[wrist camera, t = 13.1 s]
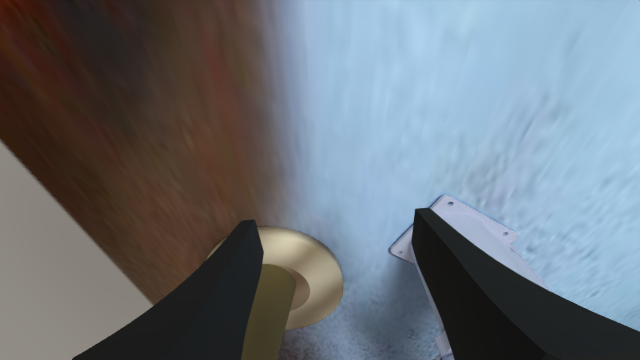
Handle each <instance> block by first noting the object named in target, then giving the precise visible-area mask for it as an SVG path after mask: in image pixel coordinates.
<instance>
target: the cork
mask: <svg viewBox="0 0 640 360" xmlns="http://www.w3.org/2000/svg"><path fill="white" fill-rule="evenodd" d="M295 289H296V282H295V279H294V277H293V276H292V274H291V273H289V272H288V271H287V270H285V269H283V268H281V267H279V266H276V265H271V264H262V270H261V275H260V279H259V283H258V287H257V290H256V294H255V298H254V301H253V305H252V309H251V312H250V316H249V320H248V324H247V328H246V333H245V339H244V345H243V351H242V357H241V360H278V356H279V352H280V348H281V344H282V340H283V336H284V332H285V328H286V324H287V320H288V316H289V312H290V309H291V305H292V301H293V297H294V293H295Z"/></svg>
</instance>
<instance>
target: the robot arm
mask: <svg viewBox="0 0 640 360" xmlns="http://www.w3.org/2000/svg"><path fill="white" fill-rule="evenodd" d="M449 202H451V203H450V204H448V203H449ZM517 238H518V235H517V234H516V233H515V232H513V231H512V230H510V229H508V228H506V227H504V226H503V225H501V224H499V223H497V222H495V221H494V220H492V219H490V218H488V217H486V216H485V215H483V214H481V213H479V212H477V211H476V210H474V209H472V208H470V207H469V206H467V205H465V204H463V203H461V202H460V201H458V200H456V199H454V198H452V197H451V196H449V195H443V196H441V197H440V198H439V199H438V200H437V201H436V202H435V203H434V204H433V205H432V206H431V207H430V208H419V209H415V216H414V224H413V225H412V227H411V228H410V229H409V230H408V231H407V232H406V233H405V234H404V235H403V236H402V237H401V238H400V239H399V240H398V241H397V242H396V243H395V244H394V245H393V246H392V247H391V248H390V250H391V253H392V254H394V255H396V256H398V257H400V258H403V259H405V260H407V261H409V262H411V263H414V264H415V265H416V268H417V270H418V273H419V275H420V278H421V281H422V283H423V286H424V288H425V291H426V294H427V296H428V299H429V301H430V304H431V307H432V309H433V312H434V314H435V317H436V320H437V322H438V325H439V328H440V330H441V333H442V334H441V335H439V336H438V337H436V338H435V342H436V345H437V347H438V350H439V353H440V355H438V356H436V357H435V358H434V359H433V360H640V332H639V331H637V330H635V329H632V328H630V327H627V326H625V325H623V324H620V323H618V322H616V321H613V320H611V319H608V318H606V317H604V316H601V315H599V314H597V313H594V312H592V311H590V310H588V309H586V308H583V307H581V306H579V305H577V304H575V303H573V302H571V301H569V300H566V299H564V298H562V297H560V296H558V295H556V294H554V293H553V292H551V291H550V289H549V288H548V287H547V286H546V285H545V284H544V282H543V281H542V280H541V279H540V278H539V276H538V275H537V274H536V273H535V272H534V271H533V269H532V268H531V267H530V266H529V265H528V263H527V262H526V261H525V260H524V259H523V258H522V256H521V255H520V254H519V253H518V252H517V250H516V249H515V248H514V247H513V246H512V245H511V243H512V242H514V241H515V240H516V239H517ZM399 251H401V252H399ZM263 255H264V250H263V247H262V243H261V240H260V236H259V232H258V229H257V225H256V222H255V220H244V221H241V222H240V223H239V224H238V226H237V227H236V228H235V229H234V230H233V231H232V232H231V233H230V235H229V236H228V237H227V238H226V239H225V240H224V241H223V243H222V244H221V245H220V246H219V247H218V248H217V249H216V250H215V251H214V252H213V254H212V255H211V256H210V257H209V258H208V259H207V260H206V261H205V262H204V263H203V264H202V265H201V266H200V267H199V268H198V269H197V270H196V271H195V272H194V273H193V274H192V275H191V276H189V277H188V278H187V279H186V280H185V281H184V282H183V283H182V284H180V285H179V286H178V287H177V288H176V289H175V290H173V291H172V292H171V293H170V294H168V295H167V296H166V297H165V298H163V299H162V300H161V301H159V302H158V303H157V304H155V305H154V306H153V307H152V308H150V309H149V310H148V311H146V312H145V313H144V314H142V315H141V316H139V317H138V318H137V319H135V320H133V321H132V322H131V323H129V324H128V325H126V326H125V327H123V328H122V329H120V330H119V331H117V332H115V333H114V334H112V335H111V336H109V337H107V338H106V339H104V340H102V341H101V342H99V343H98V344H96V345H94V346H93V347H91V348H89V349H88V350H86V351H84V352H83V353H81V354H79V355H77V356H76V357H74V358H73V359H72V360H241V357H242V351H243V345H244V339H245V333H246V328H247V324H248V320H249V316H250V312H251V309H252V305H253V301H254V298H255V294H256V290H257V287H258V283H259V279H260V275H261V270H262V263H263Z"/></svg>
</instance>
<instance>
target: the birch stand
mask: <svg viewBox="0 0 640 360" xmlns="http://www.w3.org/2000/svg"><path fill="white" fill-rule="evenodd" d="M257 229H258V232H259V236H260V240H261V243H262V247H263V250H264V255H263V263H262V264H271V265H276V266H279V267H281V268H283V269H285V270H287V271H288V272H289V273H291V274H292V276H293V277H294V279H295V282H296V289H295V293H294V297H293V301H292V305H291V309H290V312H289V316H288V320H287V324H286V328H285V330H289V329H296V328H302V327H305V326H309V325H311V324H314V323H317V322H318V321H320V320H322V319H324V318H325V317H327V316H328V315H329V314H331V313H332V312H333V311H334V310H335V309H336V307H337V306H338V304H339V303H340V301H341V298H342V294H343V279H342V270H341V266H340V264H339V262H338V260H337V258H336V257H335V255H334V254H333V253H332V252H331V251H330V249H329V248H327V247H326V246H325V245H324V244H323V243H321V242H320V241H318V240H316V239H315V238H313V237H311V236H309V235H307V234H304V233H301V232H299V231H295V230H291V229H287V228H280V227H257ZM227 237H228V236H227ZM227 237H225V238H223V239H222V240H221V241H219V242H218V243H217V244H216V245H215V246H214V247H213V248H212V250H211V252H210V253H209V255H208V257H207V259H208V258H209V257H210V256H211V255H212V254H213V252H214V251H215V250H216V249H217V248H218V247H219V246H220V245H221V244H222V243H223V241H224V240H225V239H226V238H227ZM207 259H206V260H207Z"/></svg>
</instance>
